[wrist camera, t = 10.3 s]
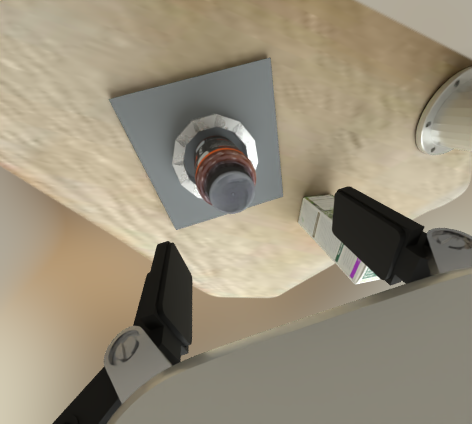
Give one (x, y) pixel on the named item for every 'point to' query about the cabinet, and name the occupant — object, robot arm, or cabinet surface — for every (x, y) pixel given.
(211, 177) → the supplement bottle
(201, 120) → the ring collar
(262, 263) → the cabinet surface
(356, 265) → the syrup box
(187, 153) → the rubber mat
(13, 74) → the cabinet surface
